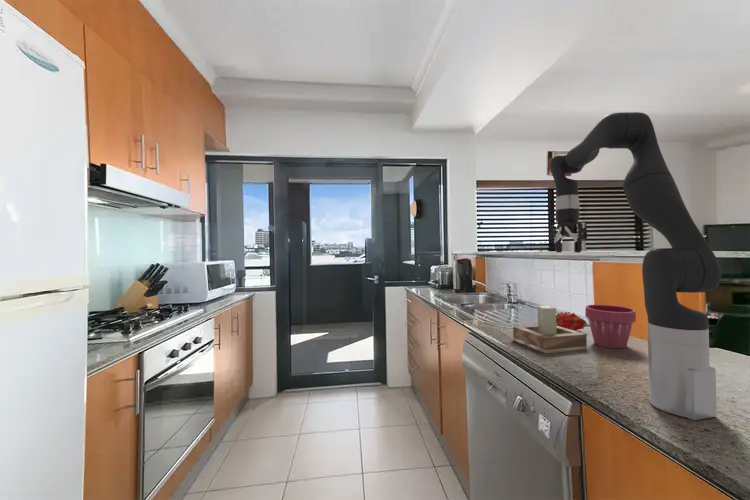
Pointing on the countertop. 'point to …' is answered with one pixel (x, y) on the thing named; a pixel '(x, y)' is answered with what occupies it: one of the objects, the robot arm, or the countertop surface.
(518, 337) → the socket block
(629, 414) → the countertop surface
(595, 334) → the plant pot
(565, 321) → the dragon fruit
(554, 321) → the skincare box
